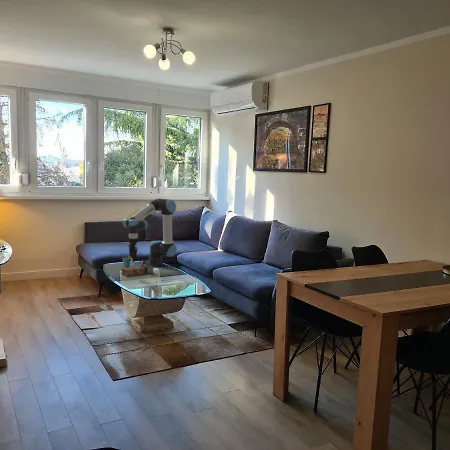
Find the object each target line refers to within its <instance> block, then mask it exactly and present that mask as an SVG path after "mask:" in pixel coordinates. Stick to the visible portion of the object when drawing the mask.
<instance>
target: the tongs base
mask: <svg viewBox="0 0 450 450" xmlns="http://www.w3.org/2000/svg"><path fill="white" fill-rule="evenodd" d="M133 268H144V267H142V266H133V267H129V268H123V267H122V268H121V273H120V274H121V275H123V276H125V275H124V269H133ZM144 274H148V273H147V268H144Z"/></svg>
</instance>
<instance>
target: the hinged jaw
mask: <svg viewBox="0 0 450 450" xmlns="http://www.w3.org/2000/svg"><path fill="white" fill-rule="evenodd" d="M143 274H144V275H145V273H144V268H133V269H124V275H123V276H124V277H127V276H135V275H136V276H137V275H143Z"/></svg>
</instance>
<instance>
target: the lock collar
mask: <svg viewBox="0 0 450 450" xmlns="http://www.w3.org/2000/svg"><path fill="white" fill-rule="evenodd" d="M141 267H144V268H147V273H146V274H153V273H154V266H151V265H150V262H149V261H148V260H145V264H141Z"/></svg>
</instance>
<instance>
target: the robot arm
mask: <svg viewBox="0 0 450 450" xmlns="http://www.w3.org/2000/svg"><path fill="white" fill-rule="evenodd" d="M176 210H177V204H176V202H175V201H174V200H172V199H169V198H168V199H165V198H156V199H153V200H151V201H150V202H148V203H147V204H146V206H144V207H143V208H142V209H140V210H139V211H137V212H136V213H135V214H134V215H132V216H131V217H129V218H124V219H123V220H122V226H123V227H125V228H128V243H129V244H128V252H129V254H128V255H130V256H131V260H130V266H135V263H136V261H135V260H136V258H137V255H138V249H139V247H137V243H138V240H139V231H140V230H141V231H142V230H145V229H147V228H148V225H149V224H148V221H147V220H145V218H146V217H148V216H149V215H151V214H153V213H155V212H160V215H161V216H162V240H152V241H151V242H150V243H149V257H148V260H147V261H149V262H150V265H151V266H153V267H162V266H164V260H163V256H165V257H174V256H175V254H176V252H177V251H178V250H177V249H178V248H177V245H176V244H175V242H174V240H173V215H175V212H176ZM143 219H144V220H143Z"/></svg>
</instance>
